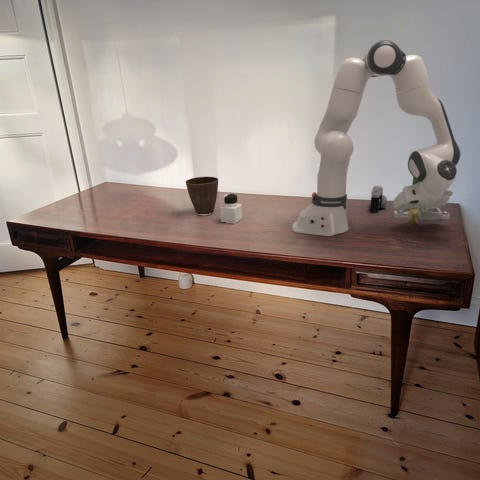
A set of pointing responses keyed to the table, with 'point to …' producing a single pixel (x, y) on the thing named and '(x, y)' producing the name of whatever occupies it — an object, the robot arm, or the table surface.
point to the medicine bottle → (231, 209)
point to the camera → (377, 199)
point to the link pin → (413, 216)
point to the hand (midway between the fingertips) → (413, 210)
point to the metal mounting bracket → (425, 214)
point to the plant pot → (203, 193)
